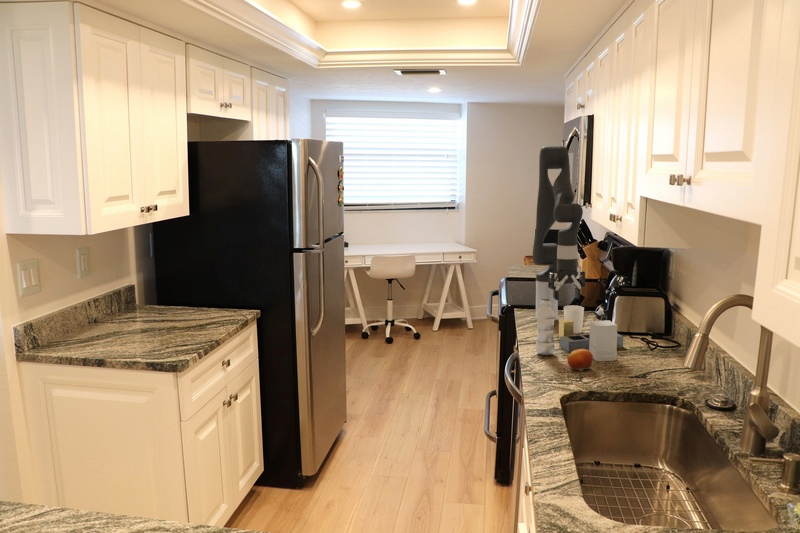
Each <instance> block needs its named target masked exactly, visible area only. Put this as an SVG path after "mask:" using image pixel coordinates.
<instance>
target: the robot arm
mask: <svg viewBox="0 0 800 533" xmlns="http://www.w3.org/2000/svg"><path fill="white" fill-rule="evenodd" d="M569 156H570V155H569V150H568V148H567V146H564V145H545V146H542V147H541V149H540V150H539V159H538V160H539V165H538V170H539V174H538V193H537V203H536V218H535V220H536V221H535V233H534V240H533V247H532V262H533V264H534V265H537V266H548V267H547V268H546V269H544V270H542V271H540V272H537V273H536V275H535V315H536V314H537V311H538V310H539V308H540V307H541V305H540V300H541V299H550V300H551V308H552V309H553V311H554V312H555V320H554V322H555V321H557V320H558V304H559V302H558V301H559V299H560V298H559V297H560V296H559V295H560V292H559V291H560V290H559V289H560V288H561V287H562V286H563V284H564V285H566V284H573V286H574V298H575V299H577V300H579V299H580V298H581V290H582V288H584V287H586V272H585V271H584V270H582V269H581V270H578V266H579V265H578V261H579V260H578V259H579V258H578V257H579V255H578V254H579V252H578V235H579V234H578V233H579V228H580V225H581V221H582V218H583V214H584V212H583V207H582V206H581V204H579V203H573V202H574V200H575V195H574V191H573V187H572V183H571V167H570V165H571V164H570V157H569ZM549 170H560V172H559V174H558V175H557V177H556V178H555V180H554V182H553V184H552V182H551V180H550V177H549ZM555 223H560V224H562V223H563V224H564V223H569V224H570V226H569V227H566V228H562V229H559V230H558V232H557V243H556V242H555V243H553V242H552V243H551V242H549V243H548V242H547V243H544V240H545V238H546V235H547V234H548V232H549V231H550V229H552V227H553V225H555ZM577 277H578V278H579V281H578V279H577ZM535 320H537V317H536V316H535Z"/></svg>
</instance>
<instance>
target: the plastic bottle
mask: <svg viewBox="0 0 800 533" xmlns="http://www.w3.org/2000/svg"><path fill="white" fill-rule="evenodd" d="M540 305H541V307H540V308H539V310H538V311H537V314H536V313H535V318H536V317H537V319H536V323H537V334H536V335H537V336H536V342H535V351H536V353H537V354H538V355H541V356H549V355H552V354H553V353H555V341H554V324H555V321H556V320H555V312H554V311H553V309H552V308H551V300H550V299H541V300H540ZM554 320H555V321H554Z"/></svg>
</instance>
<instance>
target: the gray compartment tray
mask: <svg viewBox="0 0 800 533" xmlns="http://www.w3.org/2000/svg"><path fill="white" fill-rule="evenodd" d="M589 341H590V333H585V334H581V333H580V334H573V335H571V336H561V337H560V341H559V348H561V350H564V351H566V352H568V353H571V352H572V351H574V350H577V349H586V350H589ZM617 348H624V335H622V334H619V333H617Z"/></svg>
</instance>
